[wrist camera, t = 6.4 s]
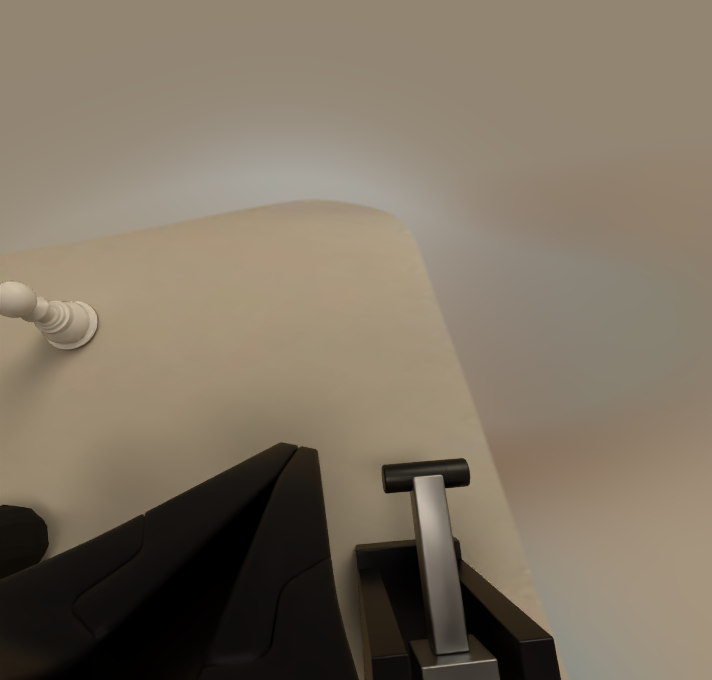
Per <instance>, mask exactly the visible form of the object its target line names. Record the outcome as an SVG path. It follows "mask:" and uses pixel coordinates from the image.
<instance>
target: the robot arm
mask: <svg viewBox="0 0 712 680" xmlns="http://www.w3.org/2000/svg"><path fill="white" fill-rule="evenodd" d="M0 680H359V679H358V675H357V672H356V668H355V665H354V661H353V658H352V654H351V651H350V647H349V644H348V640H347V637H346V633H345V629H344V625H343V621H342V617H341V613H340V609H339V605H338V600H337V594H336V588H335V582H334V575H333V567H332V560H331V553H330V545H329V537H328V529H327V521H326V513H325V505H324V497H323V489H322V481H321V473H320V465H319V457H318V451H317V450H316V449H313V448H308V447H303V446H301V447H299V448H298V446H297V445H293V444H288V443H283V442H281V443H278V444H276V445H274V446H272V447H270V448H268V449H266V450H265V451H263V452H261V453H259V454H257V455H255V456H253V457H251V458H249V459H247V460H245V461H243V462H241V463H240V464H238V465H236V466H234V467H232V468H230V469H228V470H226V471H224V472H222V473H220V474H218V475H216V476H215V477H213V478H211V479H209V480H207V481H205V482H203V483H201V484H199V485H197V486H195V487H193V488H191V489H190V490H188V491H186V492H184V493H182V494H180V495H178V496H176V497H174V498H172V499H170V500H168V501H166V502H165V503H163V504H161V505H159V506H157V507H155V508H153V509H151V510H149V511H147V512H146V513H145V517H144V515H139V516H137V517H135V518H133V519H132V520H130V521H128V522H126V523H124V524H122V525H120V526H118V527H116V528H114V529H112V530H110V531H108V532H106V533H104V534H102V535H100V536H98V537H96V538H94V539H92V540H89V541H87V542H85V543H83V544H81V545H78V546H76V547H74V548H72V549H70V550H67V551H65V552H63V553H61V554H59V555H56V556H54V557H52V558H50V559H47V560H45V561H43V562H40V563H38V564H36V565H33V566H31V567H29V568H26V569H24V570H22V571H20V572H17V573H15V574H13V575H10V576H8V577H6V578H3V579H1V580H0Z"/></svg>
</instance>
